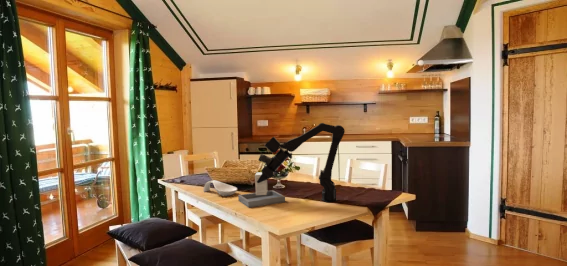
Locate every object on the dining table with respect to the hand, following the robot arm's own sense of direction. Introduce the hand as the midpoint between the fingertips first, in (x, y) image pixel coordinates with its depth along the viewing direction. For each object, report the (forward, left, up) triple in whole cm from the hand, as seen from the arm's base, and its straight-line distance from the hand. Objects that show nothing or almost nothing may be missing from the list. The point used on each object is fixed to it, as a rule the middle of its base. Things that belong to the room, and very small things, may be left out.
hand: (258, 180), depth 196 cm
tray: (-1, +1, -11) cm, 11 cm away
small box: (-1, +1, -7) cm, 7 cm away
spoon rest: (+13, -29, -11) cm, 34 cm away
